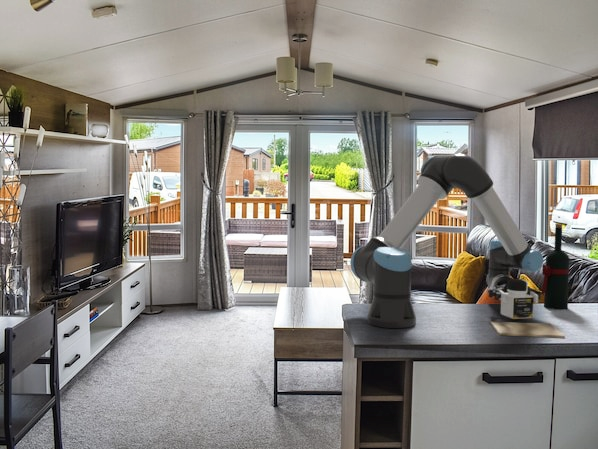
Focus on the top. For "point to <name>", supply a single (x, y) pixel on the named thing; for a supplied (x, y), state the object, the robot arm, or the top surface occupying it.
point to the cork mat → (526, 329)
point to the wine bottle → (556, 275)
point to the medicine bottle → (517, 300)
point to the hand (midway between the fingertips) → (520, 298)
